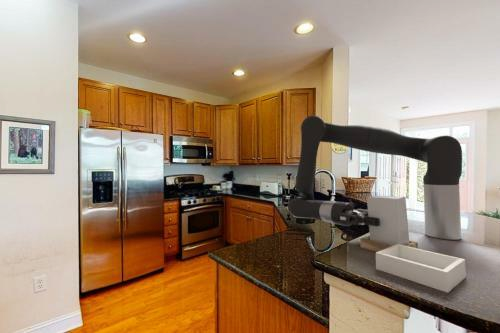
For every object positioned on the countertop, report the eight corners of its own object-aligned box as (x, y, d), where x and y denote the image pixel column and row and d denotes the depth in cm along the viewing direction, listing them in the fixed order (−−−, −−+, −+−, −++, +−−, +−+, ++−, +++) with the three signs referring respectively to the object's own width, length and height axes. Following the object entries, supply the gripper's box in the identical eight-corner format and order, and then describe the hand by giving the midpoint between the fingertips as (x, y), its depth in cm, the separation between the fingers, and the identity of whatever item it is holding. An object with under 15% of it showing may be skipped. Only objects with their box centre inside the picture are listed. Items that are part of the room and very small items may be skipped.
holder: (376, 241, 71) (376, 233, 71) (418, 251, 62) (417, 242, 62) (360, 247, 66) (360, 238, 66) (403, 258, 57) (402, 248, 57)
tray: (398, 258, 57) (397, 244, 57) (465, 277, 47) (465, 259, 47) (376, 268, 51) (375, 252, 51) (447, 292, 41) (447, 272, 41)
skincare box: (410, 251, 62) (408, 196, 63) (399, 256, 59) (398, 198, 59) (378, 243, 69) (377, 194, 70) (367, 247, 66) (366, 195, 66)
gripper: (322, 203, 74) (373, 209, 61) (348, 200, 82) (398, 204, 69) (323, 226, 74) (374, 238, 60) (349, 221, 82) (399, 230, 68)
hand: (386, 220), depth 64 cm, fingers open, 8 cm apart
